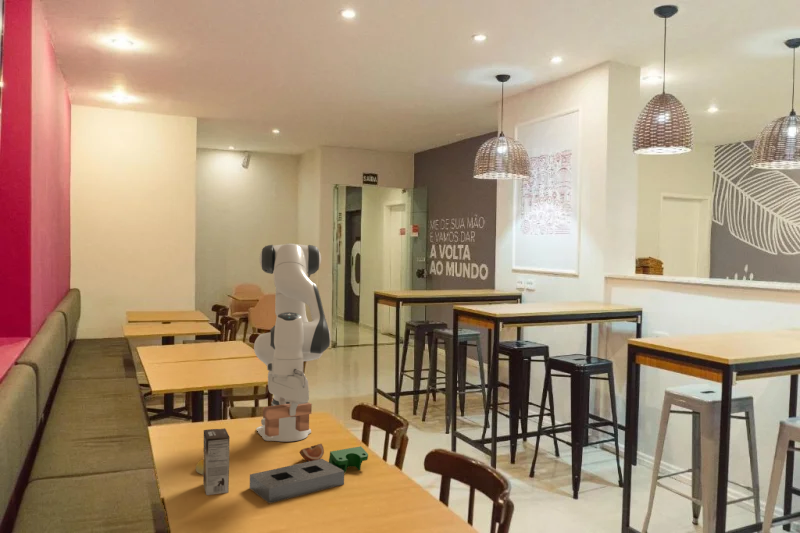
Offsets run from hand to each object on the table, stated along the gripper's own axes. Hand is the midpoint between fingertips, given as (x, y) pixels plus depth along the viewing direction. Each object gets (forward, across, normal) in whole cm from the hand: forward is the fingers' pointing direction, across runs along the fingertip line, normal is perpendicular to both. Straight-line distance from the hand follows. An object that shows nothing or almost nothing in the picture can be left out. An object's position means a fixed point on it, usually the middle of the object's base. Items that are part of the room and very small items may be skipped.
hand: (287, 413), depth 181 cm
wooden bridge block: (+6, 0, 0) cm, 6 cm away
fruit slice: (+20, +12, -15) cm, 27 cm away
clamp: (+20, -2, -21) cm, 29 cm away
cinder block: (+20, -6, -1) cm, 21 cm away
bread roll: (+20, +21, +15) cm, 33 cm away
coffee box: (+20, +6, +19) cm, 29 cm away
